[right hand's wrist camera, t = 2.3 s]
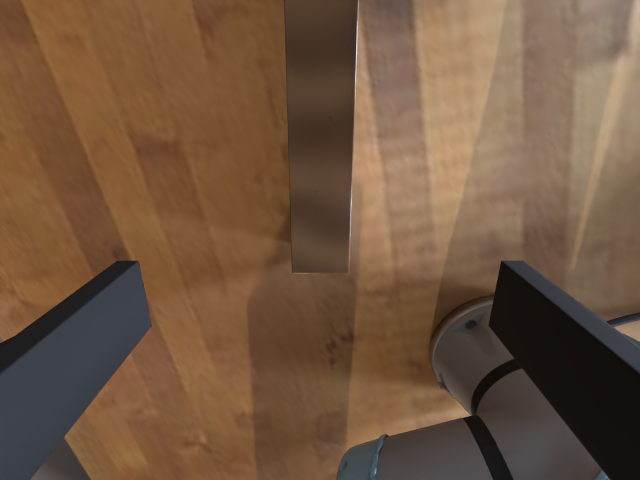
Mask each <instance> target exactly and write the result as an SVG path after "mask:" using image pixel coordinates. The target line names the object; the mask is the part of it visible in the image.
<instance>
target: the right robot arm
mask: <svg viewBox="0 0 640 480" xmlns="http://www.w3.org/2000/svg"><path fill="white" fill-rule="evenodd" d="M638 320H640V313H636V314H631V315H627V316H623V317H619V318H616V319H613V320H610V321H607V322H605V321H604V320H603V319H601V318H600V317H598V316H597V315H596V314H594V313H593V312H592V311H590V310H589V309H588V308H586V307H585V306H583V305H582V304H581V303H579V302H578V301H577V300H575V299H574V298H573V297H571V296H570V295H568V294H567V293H566V292H564V291H563V290H562V289H560V288H559V287H558V286H556V285H555V284H553V283H552V282H551V281H549V280H548V279H547V278H545V277H544V276H543V275H541V274H540V273H538V272H537V271H536V270H534V269H533V268H532V267H530V266H529V265H528V264H526V263H525V262H523V261H501V265H500V270H499V275H498V280H497V285H496V290H495V295H494V296H488V297H483V298H479V299H476V300H473V301H471V302H468V303H466V304H464V305H462V306H461V307H459V308H457V309H456V310H454V311H453V312H452V313H450V314H449V315H448V316H447V317H446V318H445V319H444V320H443V321H442V322H441V324H440V325H439V326H438V328H437V329H436V331H435V333H434V335H433V337H432V340H431V344H430V350H429V357H430V363H431V366H432V368H433V371H434V373H435V375H436V377H437V379H438V383H439V385H440V387H441V388H443V389H445V390H446V391H447V392H448V393H449V394H450V395H451V396H452V397H454V398H455V399H457V400H458V401H459V402H460V404H461V405H462V406H463V407H464V409H465V410H466V411H467V412H468V413H469V414H470V415H471V416H469V417H465V418H459V419H455V420H451V421H448V422H444V423H440V424H436V425H432V426H428V427H424V428H420V429H416V430H412V431H408V432H404V433H401V434H397V435H392V436H388V435H387V434H384V435H381V436H380V438H378V439H375V440H372V441H369V442H366V443H363V444H359V445H356V446H354V447H352V448H350V449H349V450H348V451H347V452H346V453H345V454H344V456H343V458H342V460H341V462H340V465H339V468H338V473H337V479H336V480H640V342H639V341H637V340H635V339H633V338H631V337H629V336H627V335H625V334H622V333H620V332H619V331H618V330H616V329H615V328H613V327H616V326H619V325H622V324H625V323H629V322H633V321H638ZM151 326H152V324H151V319H150V314H149V309H148V305H147V300H146V295H145V290H144V285H143V280H142V275H141V270H140V265H139V261H117V262H115V263H114V264H112V265H111V266H110V267H108V268H107V269H106V270H104V271H103V272H102V273H100V274H99V275H97V276H96V277H95V278H93V279H92V280H91V281H89V282H88V283H87V284H85V285H84V286H82V287H81V288H80V289H78V290H77V291H76V292H74V293H73V294H72V295H70V296H69V297H67V298H66V299H65V300H63V301H62V302H61V303H59V304H58V305H57V306H55V307H54V308H52V309H51V310H50V311H48V312H47V313H46V314H44V315H43V316H42V317H40V318H39V319H37V320H36V321H35V322H33V323H32V324H31V325H29V326H28V327H27V328H25V329H24V330H22V331H21V332H20V333H18V334H17V335H16V336H14V337H12V338H10V339H8V340H6V341H4V342H2V343H0V480H30V479H31V478H32V477H33V475H34V474H35V473H36V472H37V470H38V469H39V468H40V466H41V465H42V464H43V463H44V461H45V460H46V459H47V458H48V456H49V455H50V454H51V453H52V451H53V450H54V449H55V448H56V446H57V445H58V444H59V442H60V441H61V440H62V439H63V437H64V436H65V435H66V434H67V432H68V431H69V430H70V429H71V427H72V426H73V425H74V423H75V422H76V421H77V420H78V418H79V417H80V416H81V415H82V413H83V412H84V411H85V410H86V408H87V407H88V406H89V404H90V403H91V402H92V401H93V399H94V398H95V397H96V396H97V394H98V393H99V392H100V391H101V389H102V388H103V387H104V385H105V384H106V383H107V382H108V380H109V379H110V378H111V377H112V375H113V374H114V373H115V371H116V370H117V369H118V368H119V366H120V365H121V364H122V363H123V361H124V360H125V359H126V358H127V356H128V355H129V354H130V352H131V351H132V350H133V349H134V347H135V346H136V345H137V344H138V342H139V341H140V340H141V339H142V337H143V336H144V335H145V333H146V332H147V331H148V330H149V328H150V327H151Z"/></svg>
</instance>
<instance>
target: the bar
mask: <svg viewBox="0 0 640 480" xmlns="http://www.w3.org/2000/svg"><path fill="white" fill-rule="evenodd" d="M358 4H359V0H284V10H285V45H286V79H287V114H288V148H289V183H290V217H291V252H292V273H344V274H348V273H349V258H350V230H351V202H352V174H353V145H354V117H355V89H356V61H357V33H358Z"/></svg>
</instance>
